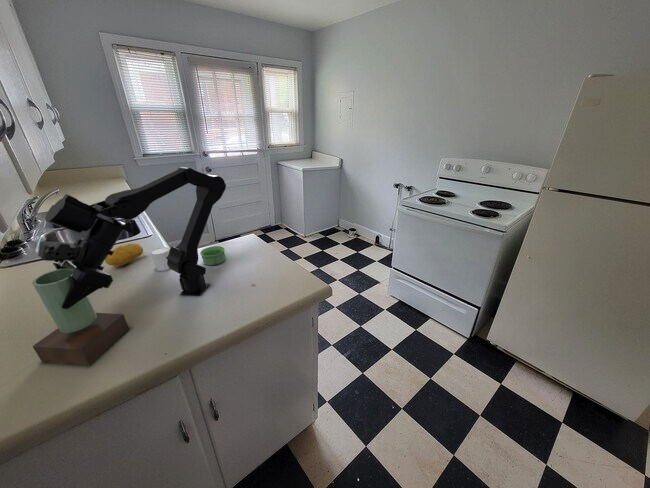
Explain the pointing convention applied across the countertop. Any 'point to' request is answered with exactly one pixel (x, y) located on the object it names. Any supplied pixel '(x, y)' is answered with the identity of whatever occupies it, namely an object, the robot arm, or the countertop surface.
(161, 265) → the white cup
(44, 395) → the countertop surface
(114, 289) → the countertop surface
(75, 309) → the tumbler
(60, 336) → the block
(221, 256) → the ramekin
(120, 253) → the potato
